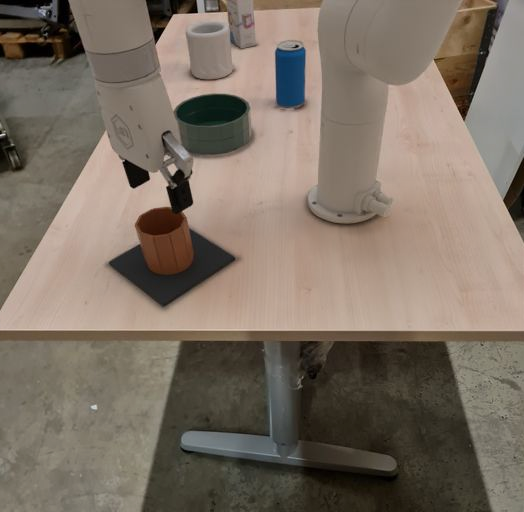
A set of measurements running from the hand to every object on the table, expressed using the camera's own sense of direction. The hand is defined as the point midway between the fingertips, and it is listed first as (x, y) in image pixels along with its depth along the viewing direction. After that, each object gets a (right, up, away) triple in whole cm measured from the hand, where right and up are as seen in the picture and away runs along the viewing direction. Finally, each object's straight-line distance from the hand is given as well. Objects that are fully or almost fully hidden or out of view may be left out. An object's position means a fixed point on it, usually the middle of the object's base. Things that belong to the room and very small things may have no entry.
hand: (161, 196), depth 66 cm
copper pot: (0, -7, +8) cm, 11 cm away
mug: (+1, +51, +58) cm, 78 cm away
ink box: (+8, +66, +70) cm, 97 cm away
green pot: (+4, +23, +34) cm, 41 cm away
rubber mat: (0, -8, +8) cm, 11 cm away
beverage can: (+20, +35, +43) cm, 59 cm away
